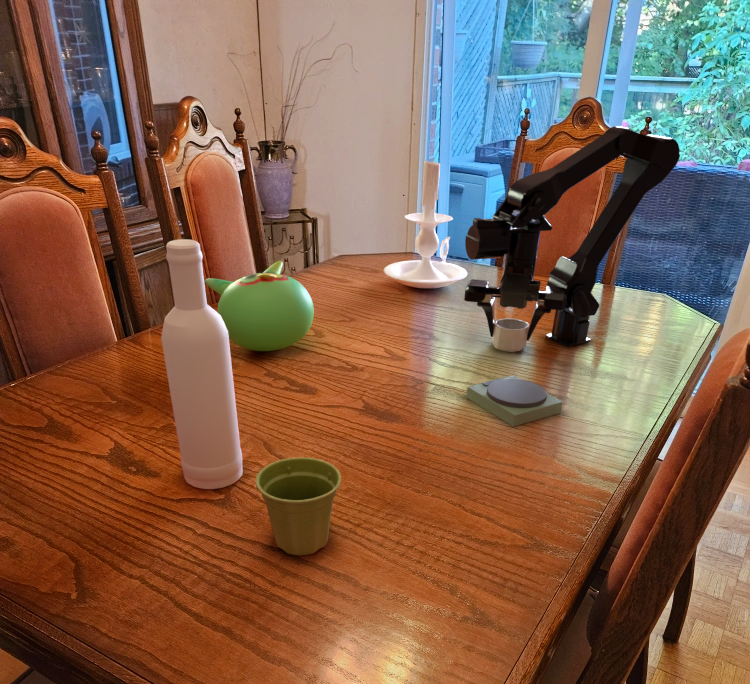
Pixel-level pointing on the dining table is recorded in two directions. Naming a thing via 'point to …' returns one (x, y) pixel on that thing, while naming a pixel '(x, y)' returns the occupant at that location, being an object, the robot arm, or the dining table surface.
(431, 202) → the candlestick
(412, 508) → the dining table surface
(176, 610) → the dining table surface
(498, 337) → the cup
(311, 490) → the plant pot
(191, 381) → the bottle
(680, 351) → the dining table surface
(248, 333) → the green rounded piece
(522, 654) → the dining table surface
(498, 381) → the scale
